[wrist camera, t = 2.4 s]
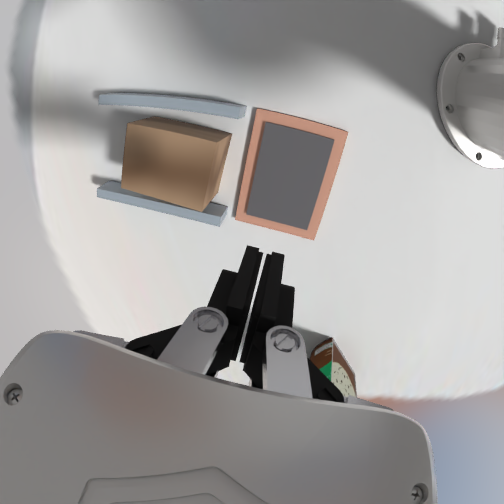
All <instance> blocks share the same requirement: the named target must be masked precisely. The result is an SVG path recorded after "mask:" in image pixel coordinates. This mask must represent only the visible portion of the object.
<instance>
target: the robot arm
mask: <svg viewBox="0 0 504 504" xmlns="http://www.w3.org/2000/svg"><path fill="white" fill-rule="evenodd" d="M497 39H498V42H497V45H495V46H494V48H493V47H491V46H488V45H485V44H481V43H469V44H464V45H461V46H459V47H456V48H455V49H454V50H452V51H451V52H450V53H449V54H448V56H447V57H446V58H445V59H444V61H443V64H442V66H441V68H440V71H439V76H438V80H437V100H438V107H439V112H440V116H441V119H442V122H443V125H444V127H445V130H446V132H447V134H448V135H449V137H450V139H451V141H452V142H453V144H454V145H455V146H456V148H457V149H458V150H459V151H460V152H461V153H462V154H463V155H464V156H465V157H466V158H468V159H469V160H471V161H473V162H474V163H476V164H478V165H480V166H482V167H486V168H490V169H499V168H502V167H504V28H500V27H499V28H498V35H497ZM458 58H459V59H458ZM446 106H447V110H446ZM262 256H263V253H262V252H259V248H256V247H252V246H248V245H247V248H246V251H245V254H244V257H243V259H242V262H241V265H240V268H239V271H238V273H236V272H232V271H228V270H224V269H223V270H222V272H221V275H220V277H219V279H218V282H217V284H216V286H215V289H214V291H213V294H212V296H211V298H210V301H209V303H208V306H207V307H200V308H197V309H195V310H193V311H192V312H191V313H190V314H189V316H188V317H187V319H186V320H185V321H184V323H183V324H182V325H179V326H176V327H173V328H170V329H166V330H163V331H160V332H157V333H153V334H150V335H147V336H143V337H140V338H137V339H134V340H132V341H130V342H125V341H124V339H123V338H118V337H112V336H106V335H101V334H96V333H91V332H86V331H74V332H71V331H59V330H56V331H47V332H43V333H40V334H38V335H37V336H35V337H34V338H33V339H31V340H30V341H29V342H28V343H27V344H26V345H25V346H24V347H23V348H22V349H21V351H20V352H19V353H18V354H17V355H16V357H15V358H14V359H13V361H12V362H11V363H10V365H9V366H8V367H7V369H6V370H5V371H4V373H3V375H2V376H1V377H0V504H437V480H436V471H435V462H434V456H433V451H432V447H431V443H430V440H429V437H428V435H427V432H426V431H425V429H424V428H423V427H422V425H421V424H419V423H418V422H417V421H415V420H413V419H412V418H410V417H408V416H405V415H403V414H401V413H398V412H395V411H393V410H392V409H390V408H388V407H385V406H382V405H379V404H375V403H372V402H369V401H366V400H363V399H360V398H357V397H354V396H351V395H349V396H348V397H346V396H343V394H342V393H341V391H340V390H339V389H338V388H337V387H336V386H335V385H334V384H333V383H332V382H331V381H330V380H329V379H328V378H327V377H326V376H325V375H324V374H323V373H322V372H321V371H320V370H319V369H318V368H317V367H316V366H315V365H314V363H313V362H312V361H311V360H310V359H309V358H308V357H307V355H306V348H305V342H304V339H303V337H302V335H301V334H300V333H299V332H298V331H297V330H295V329H293V328H292V322H293V308H294V292H295V288H294V287H292V286H288V285H284V284H281V280H282V271H283V263H284V255H283V254H279V253H275V252H272V255H270V254H267V255H266V259H265V263H264V266H263V270H262V274H261V278H260V281H259V285H258V289H257V292H256V296H255V300H254V304H253V308H252V312H251V316H250V320H249V325H248V329H247V333H246V337H245V342H244V346H243V350H242V354H241V358H240V362H242V363H244V368H243V371H245V373H246V374H247V375H248V376H249V378H250V381H249V386H246V385H242V384H238V383H234V382H230V381H226V380H222V379H218V378H216V377H217V375H218V371H219V370H222V369H224V368H226V367H229V363H230V360H234V361H236V357H237V354H238V350H239V346H240V343H241V339H242V335H243V332H244V328H245V324H246V321H247V317H248V313H249V309H250V305H251V301H252V297H253V293H254V289H255V285H256V280H257V276H258V272H259V268H260V264H261V260H262Z"/></svg>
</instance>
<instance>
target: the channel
mask: <svg viewBox="0 0 504 504" xmlns="http://www.w3.org/2000/svg"><path fill="white" fill-rule="evenodd" d="M99 104H101V105H127V106H143V107H155V108H165V109H175V110H183V111H191V112H198V113H205V114H211V115H218V116H224V117H229V118H235V119H240V118H242V117H244V116H245V112H246V107H247V106H243V105H238V104H232V103H226V102H219V101H213V100H206V99H198V98H189V97H180V96H169V95H157V94H140V93H108V94H100V95H99ZM97 197H99V198H103V199H108V200H112V201H116V202H121V203H125V204H129V205H133V206H137V207H142V208H146V209H150V210H154V211H158V212H162V213H166V214H171V215H175V216H179V217H183V218H187V219H191V220H195V221H199V222H203V223H207V224H211V225H215V226H219V227H220V225H221V223H222V222H223V220H224V219H225V217H226V214H227V208H228V207H227V206H223V205H219V204H215V203H209V204H208V205H207V206H206V208H205V209H204V210H203V211H202V212H200V211H197V210H194V209H190V208H187V207H184V206H180V205H177V204H174V203H171V202H167V201H164V200H161V199H157V198H154V197H150V196H147V195H144V194H140V193H137V192H133V191H130V190H127V189H123V188H121V183H119V182H114V181H109V182H107V183H105V184H103V185H102V186H100V187H99V188H97Z"/></svg>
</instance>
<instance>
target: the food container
mask: <svg viewBox="0 0 504 504" xmlns="http://www.w3.org/2000/svg"><path fill="white" fill-rule="evenodd" d="M310 360H311V361H312V362H313V363H314V365H315V366H316V367H317V368H318V369H319V370H320V371H321V372H322V373H323V374H324V375H325V376H326V377H327V378H328V379H329V380H330V381H331V382H332V383H333V384H334V385H335V386H336V387H337V388H338V389H339V390H340V391H341V393H342V394H343V396H346V397H348V396H349V395H351V396H354V397H357V392H356V381H355V373H354V371H353V370H352V368H351V366H350V365H349V363H348V361H347V360H346V358H345V357H344V355H343V353H342V352H341V350H340V349H339V347H338V345H337V344H336V342H335V341H334V339H333V338H330V339H328V340H325V341H324V342H322V343H321V344H319V345H318V346H316V348H315V349H314V350H313V351H312V353H311V357H310Z"/></svg>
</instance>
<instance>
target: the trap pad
mask: <svg viewBox="0 0 504 504" xmlns="http://www.w3.org/2000/svg"><path fill="white" fill-rule="evenodd" d="M347 135H348V132H347V131H344V130H340V129H337V128H334V127H331V126H327V125H324V124H320V123H317V122H313V121H310V120H306V119H302V118H298V117H294V116H290V115H286V114H282V113H277V112H273V111H268V110H264V109H259V108H257V111H256V116H255V121H254V126H253V130H252V135H251V140H250V145H249V150H248V155H247V160H246V165H245V170H244V175H243V180H242V186H241V191H240V196H239V201H238V206H237V212H236V217H235V220H238V221H242V222H246V223H250V224H254V225H258V226H262V227H266V228H269V229H273V230H277V231H281V232H285V233H288V234H292V235H296V236H300V237H303V238H307V239H311V240H314V239H315V236H316V233H317V230H318V227H319V224H320V221H321V218H322V215H323V212H324V209H325V206H326V203H327V200H328V197H329V194H330V191H331V188H332V185H333V182H334V178H335V175H336V172H337V169H338V165H339V162H340V159H341V156H342V152H343V149H344V145H345V142H346V138H347Z"/></svg>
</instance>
